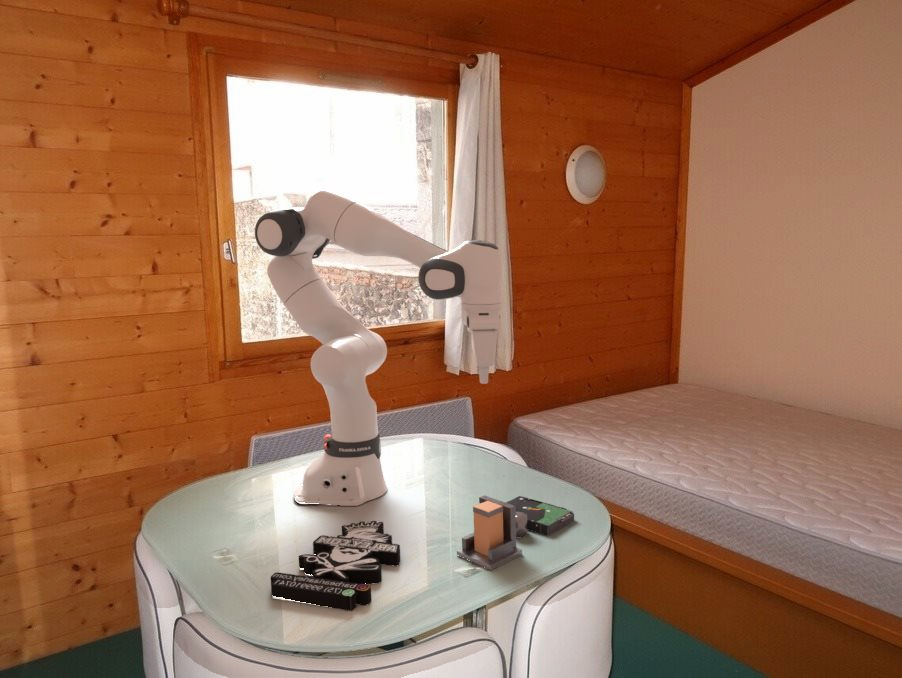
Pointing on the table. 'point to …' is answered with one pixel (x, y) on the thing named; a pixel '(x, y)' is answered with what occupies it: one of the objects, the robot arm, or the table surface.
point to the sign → (340, 568)
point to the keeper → (500, 551)
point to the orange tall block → (487, 526)
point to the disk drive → (542, 515)
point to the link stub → (521, 524)
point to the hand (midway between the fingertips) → (482, 377)
